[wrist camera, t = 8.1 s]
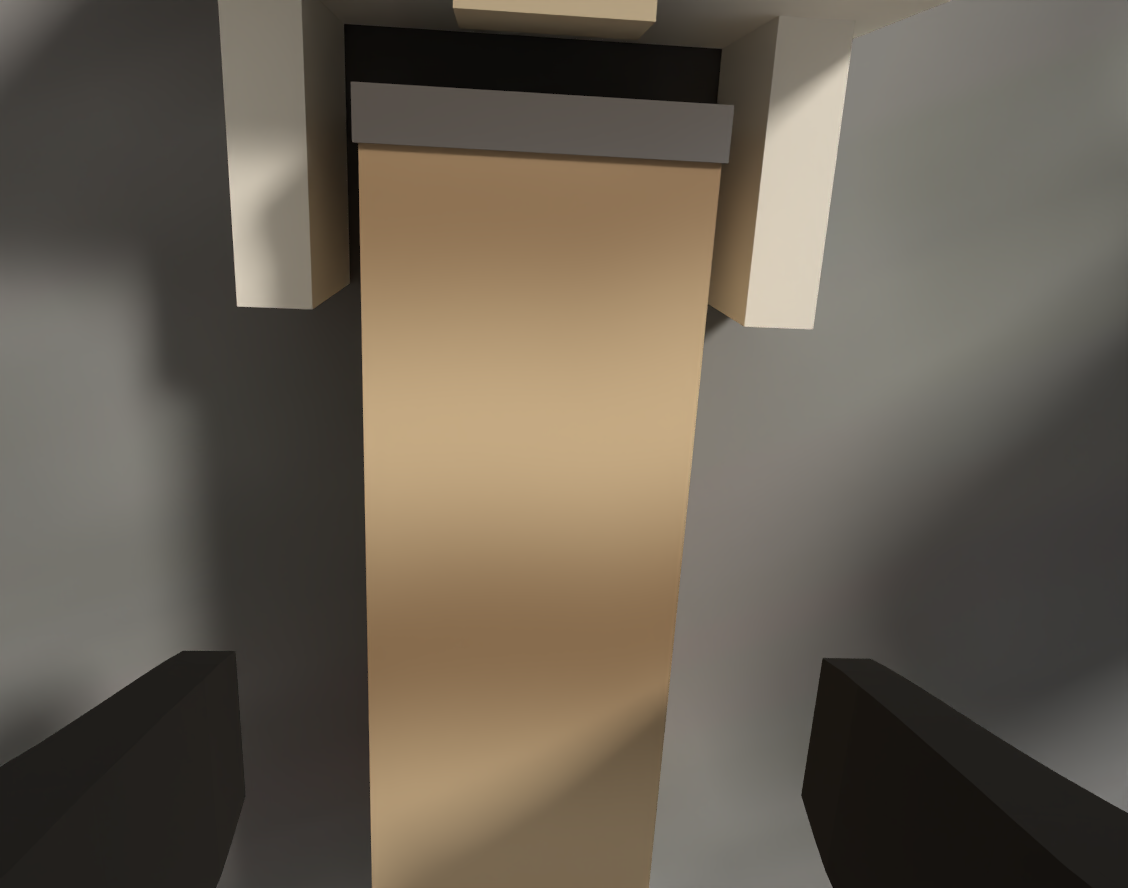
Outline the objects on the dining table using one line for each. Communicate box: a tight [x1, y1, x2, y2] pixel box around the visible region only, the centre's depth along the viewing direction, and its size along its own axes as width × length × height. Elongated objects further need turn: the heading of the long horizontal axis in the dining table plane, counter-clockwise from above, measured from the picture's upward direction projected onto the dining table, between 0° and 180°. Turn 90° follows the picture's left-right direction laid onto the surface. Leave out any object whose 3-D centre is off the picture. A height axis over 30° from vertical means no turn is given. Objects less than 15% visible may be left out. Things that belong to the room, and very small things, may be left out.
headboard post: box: [218, 0, 951, 329], centre depth 11 cm, size 6×9×6 cm
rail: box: [351, 82, 734, 888], centre depth 14 cm, size 14×4×5 cm, turn 177°
